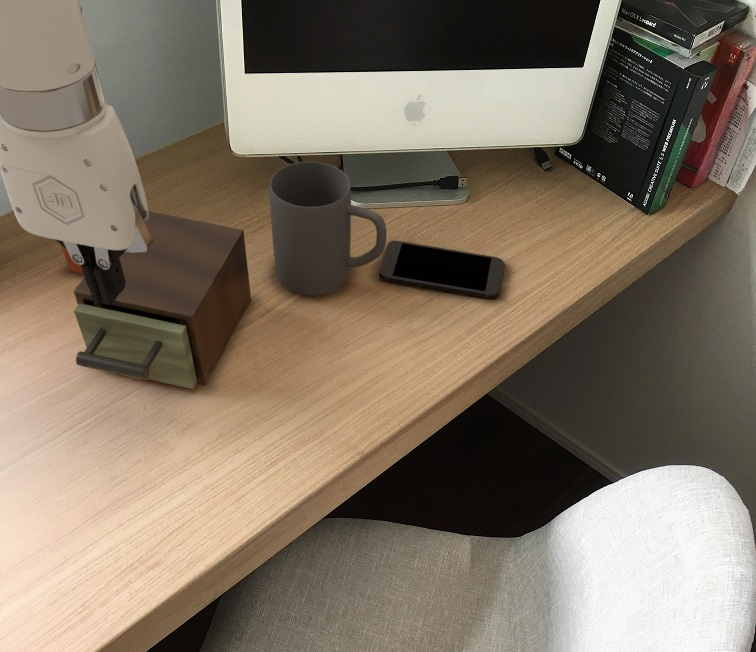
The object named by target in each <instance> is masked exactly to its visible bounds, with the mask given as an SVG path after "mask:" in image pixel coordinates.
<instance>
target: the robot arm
mask: <svg viewBox="0 0 756 652" xmlns="http://www.w3.org/2000/svg"><path fill="white" fill-rule="evenodd" d="M84 15H85V14H84V10H83V6H82V4H81V0H0V174H1V178H2V180H3V184H4V186H5V190H6V194H7V196H8V200H9V202H10V205H11V208H12V211H13V213H14V216H15V218H16V220H17V222H18V224H19V225H20V227H21V228H22V229H23V230H24V231H25V232H27V233H29V234H32V235H34V236H37V237H42V238H46V239H51V240H55V241H56V242H57V243H59V244H60V246H61V245H62V246H63V247H64V248H66V249H67V251H68V253H69V255H70V257H71V259H72V260H73V261H74V262H75V263H76V264H79V265H81V268H82V271H83V273H82V274H83V276H84V277H85V280H86V283H87V285H88V287H89V289H90V292H91V295H92V298H93V301H94V302H97V303H101V302H104V304H107V305H112V304H113V302H114V301H115V300H116V298H117V297H118V295H119V294H120V293H121V292H122V291H123V290H124V288H125V285H126V281H125V277H124V273H123V269H122V266H121V262H120V259H119V257H120V256H121V255H123V254H124V252H129V253H138V252H146V251H147V250H148V248H149V247H150V246H151V244H152V243H153V239H152V237H151V235H150V233H149V231H148V228H147V226H146V224H145V222H146V221H147V220H148V218H149V213H148V211H149V207H148V200H147V196H146V193H145V188H144V184H143V182H142V181H143V180H142V178H141V175H140V171H139V168H138V165H137V162H136V159H135V157H134V152H133V151H132V148H131V146H130V143H129V142H130V141H129V140H128V137H127V135H126V132H125V130H124V128H123V126H122V123H121V120H120V119H119V117H118V115H117V113H116V110H115V109H114V107H113V106H111V105H110V104H106V99H105V95H104V91H103V89H102V88H103V87H102V84H101V79H100V75H99V71H98V67H97V63H96V60H95V55H94V51H93V48H92V47H93V46H92V44H91V39H90V35H89V32H88V31H89V30H88V26H87V24H86V19H85V16H84ZM62 246H61V247H62ZM84 277H83V278H84Z"/></svg>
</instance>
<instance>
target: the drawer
mask: <svg viewBox="0 0 756 652" xmlns="http://www.w3.org/2000/svg"><path fill="white" fill-rule="evenodd" d="M93 302H94V301H93ZM94 305H95V307H94V306H90V305H85V304H80V303H79V304H78V303H77V305H76V307H75V308H74V309H73V314H74V315H75V318H76V322H77V324H78V327H79V330H80V333H81V336H82V340H83V342H84V344H85V347H86V349H85V350H84V351H81V350H80V351H78V353H77V354H76V356H75V363H76V365H77V366H78V367H84V368H88V369H92V370H97V371H102V372H106V373H110V374H116V375H121V376H124V377H128V378H134V379H138V380H143V381H147V380H150V381H154V382H159V383H164V384H167V385H172V386H173V385H174V386H177V387H182V388H187V389H191V390H194V389H195V386H196V385H197V384H198V383H197V378H196V373H195V369H196V365H195V361H194V356H193V351H192V346H191V341H190V336H189V331H188V326H187V321H185V320H180V319H176V318H171V317H166V316H161V315H157V314H152V313H147V312H142V311H138V310H133V309H128V308H123V307H119V306H114V305H107V304H104V303H97V302H94Z"/></svg>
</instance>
